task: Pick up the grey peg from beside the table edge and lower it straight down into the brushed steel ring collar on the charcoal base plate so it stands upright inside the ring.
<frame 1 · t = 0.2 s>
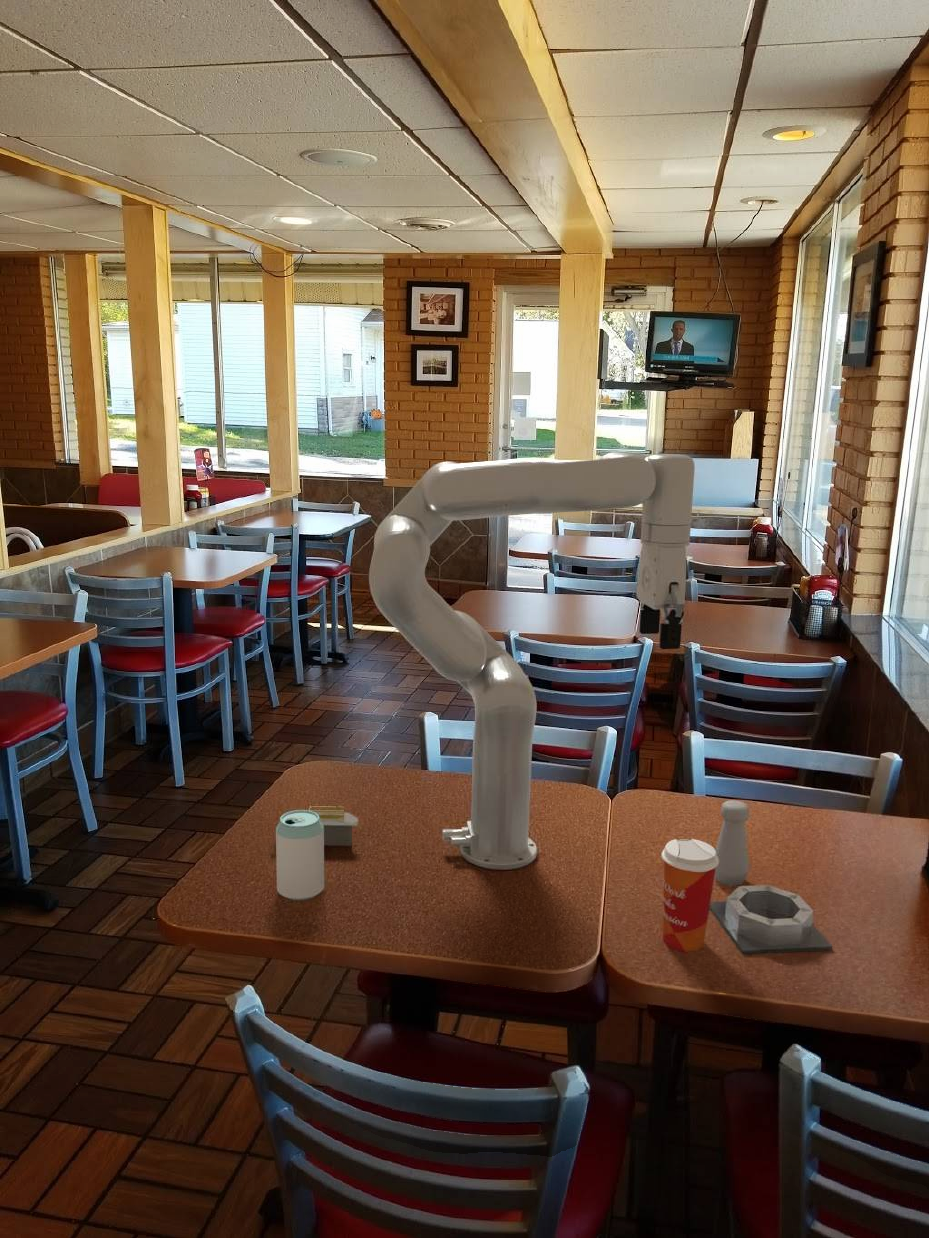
hand: (659, 640, 154), 36 cm above the table, tool pointing down, fingers open, 9 cm apart
platform: (328, 846, 162), on the table
grey peg: (728, 881, 153), on the table
paper cup: (682, 942, 135), on the table
can: (300, 892, 146), on the table
ring collar: (767, 927, 139), on the table
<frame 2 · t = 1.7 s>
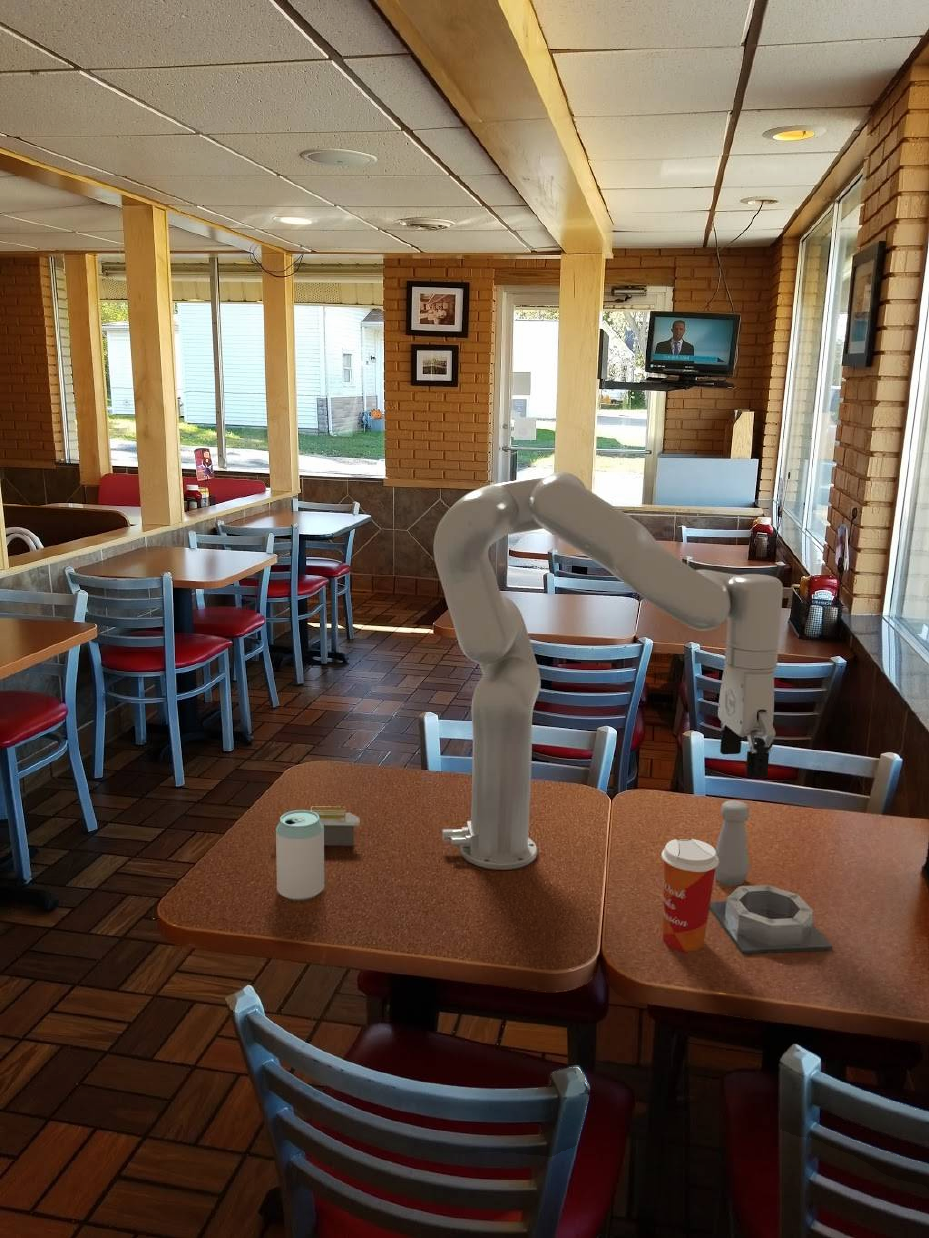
hand: (742, 764, 148), 19 cm above the table, tool pointing down, fingers open, 9 cm apart
nothing on the table moved.
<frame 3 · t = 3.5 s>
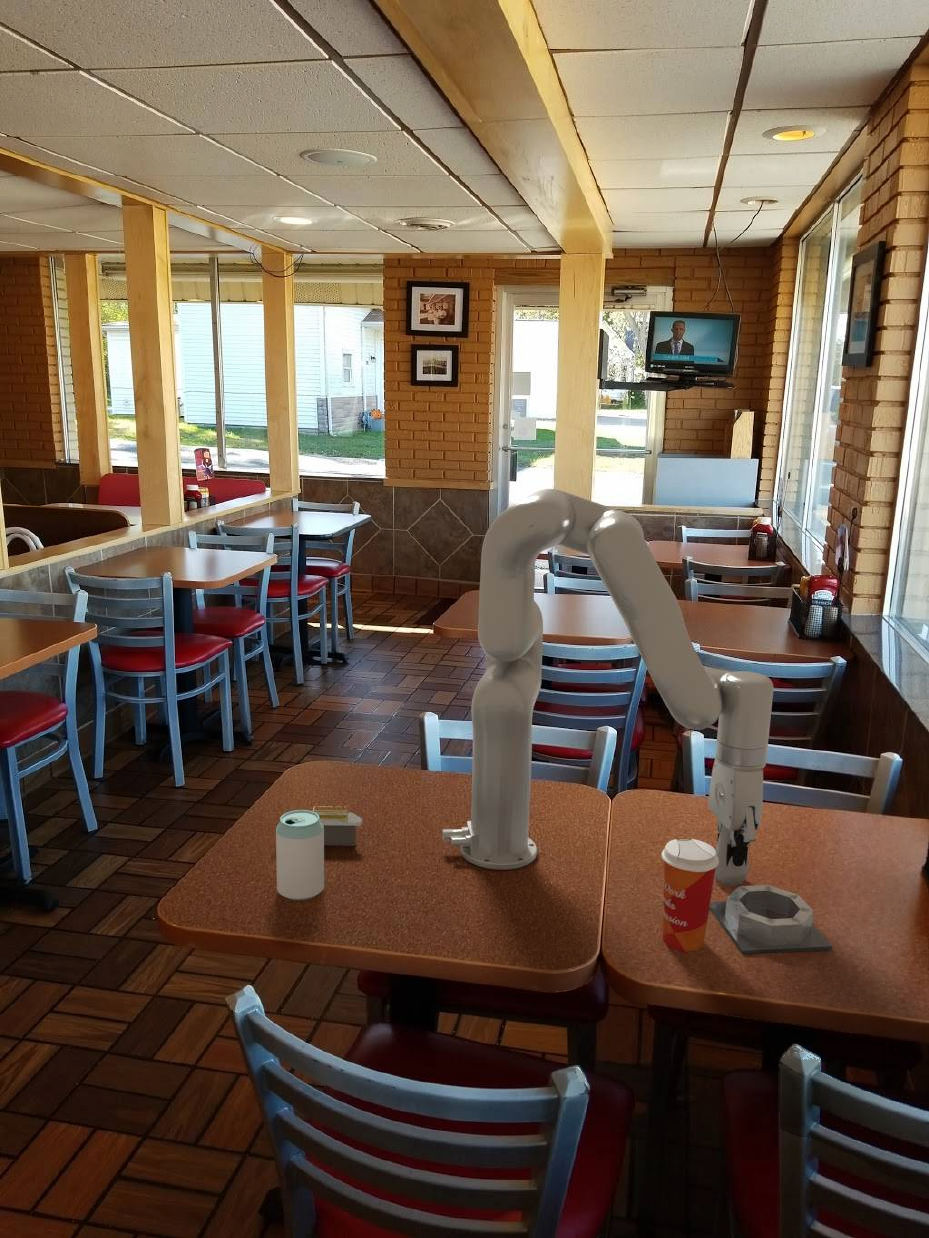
hand: (730, 861, 152), 3 cm above the table, tool pointing down, fingers closed on grey peg, 3 cm apart
grey peg: (728, 881, 153), on the table, touching gripper
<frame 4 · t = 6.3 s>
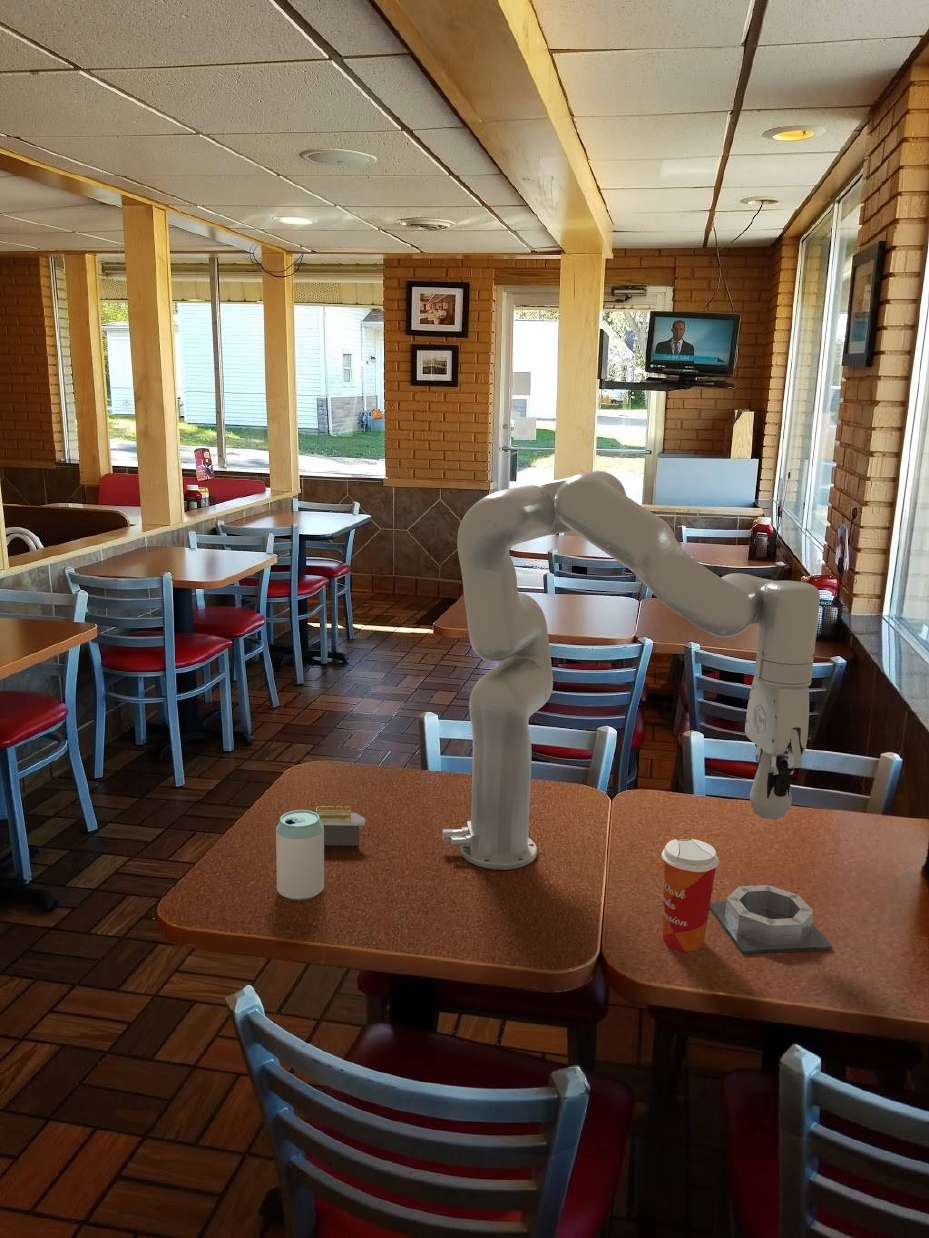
hand: (771, 792, 138), 19 cm above the table, tool pointing down, fingers closed on grey peg, 3 cm apart
grey peg: (768, 814, 139), point 16 cm above the table, touching gripper
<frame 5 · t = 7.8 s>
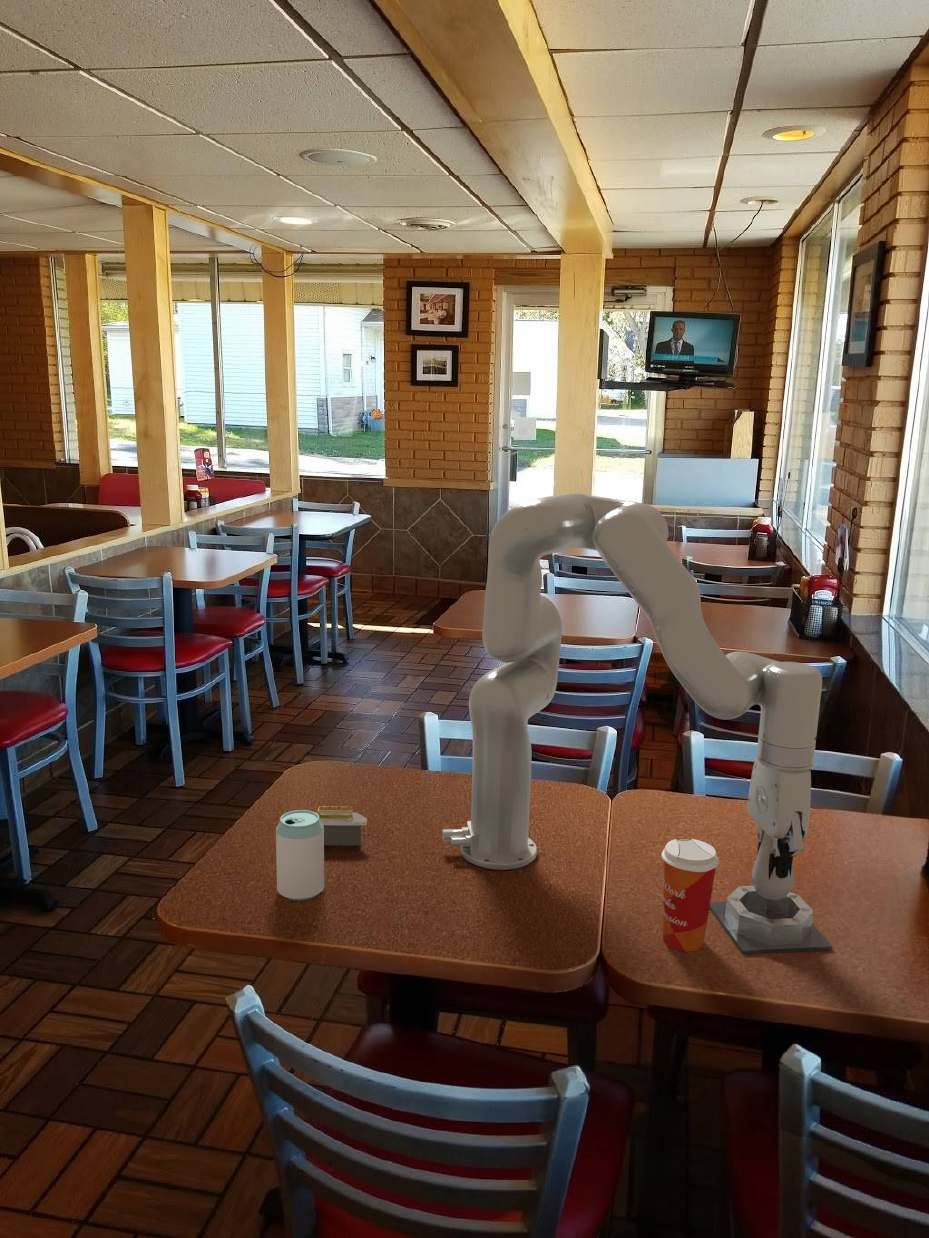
hand: (773, 872, 137), 9 cm above the table, tool pointing down, fingers closed on grey peg, 3 cm apart
grey peg: (771, 894, 138), point 5 cm above the table, touching gripper
when the fingers open (4 cm above the table, at t = 9.0 s): grey peg stays where it is, resting on ring collar.
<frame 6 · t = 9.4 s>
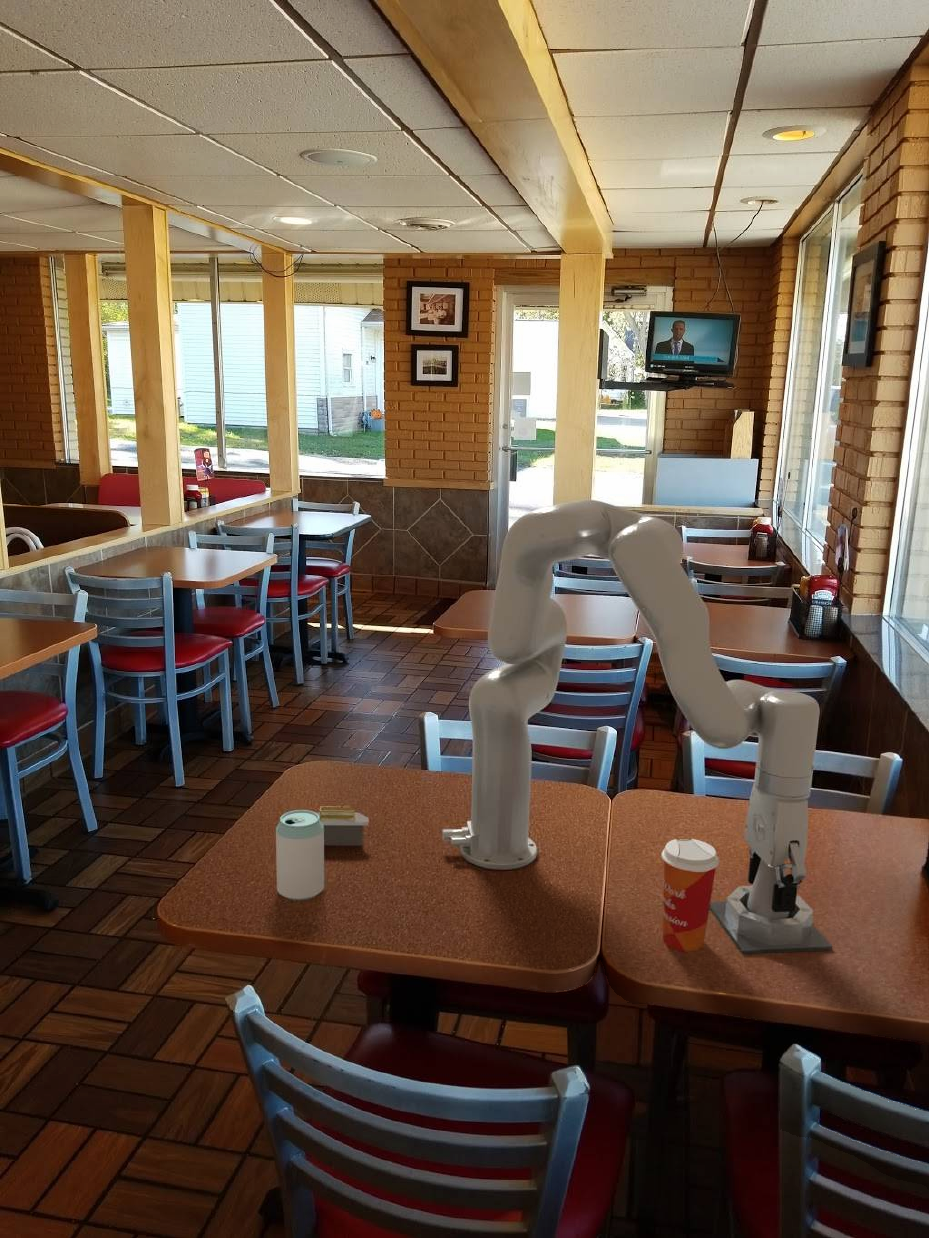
hand: (770, 895, 138), 5 cm above the table, tool pointing down, fingers open, 7 cm apart
grey peg: (766, 923, 139), resting on ring collar
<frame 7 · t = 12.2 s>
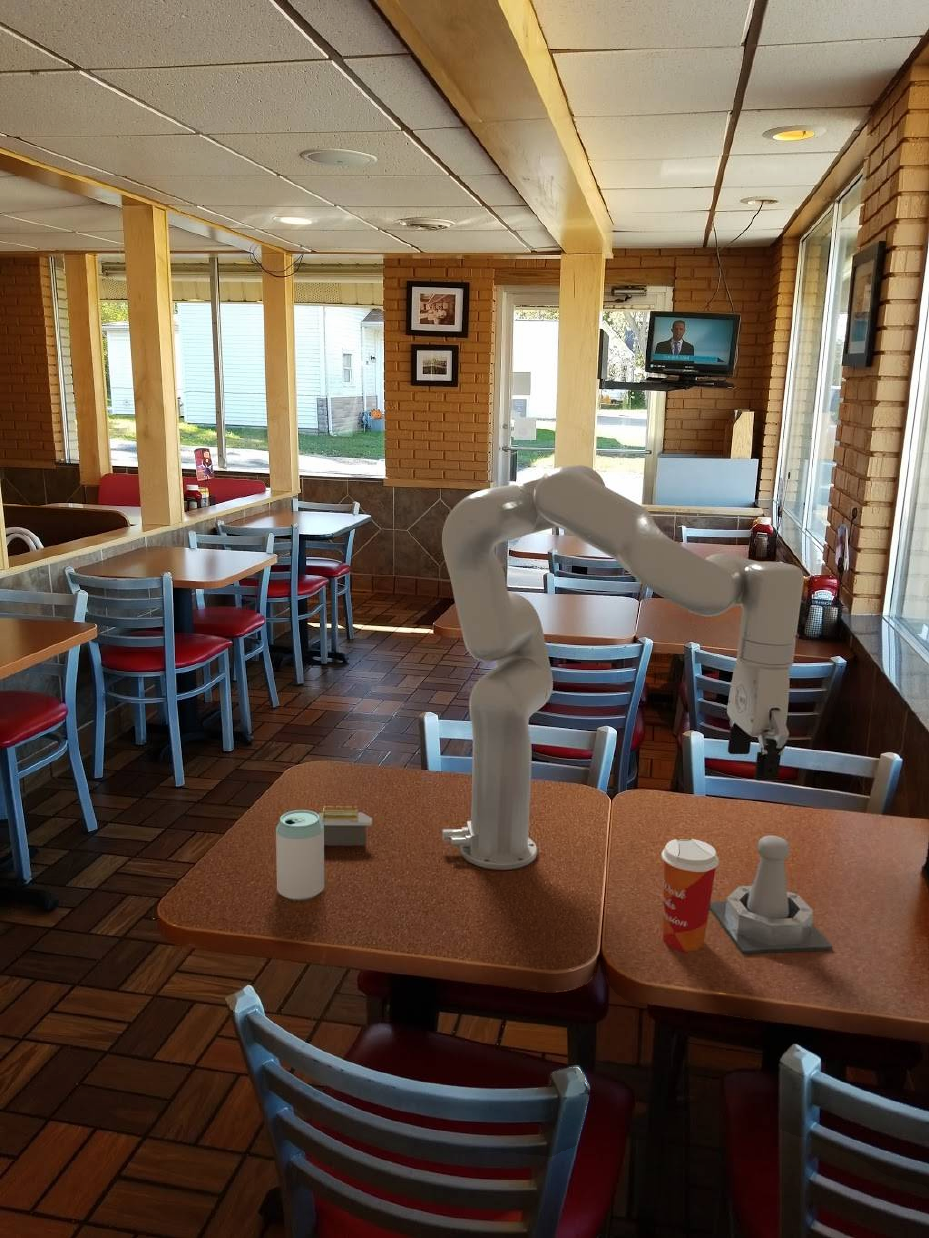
hand: (751, 766, 138), 23 cm above the table, tool pointing down, fingers open, 9 cm apart
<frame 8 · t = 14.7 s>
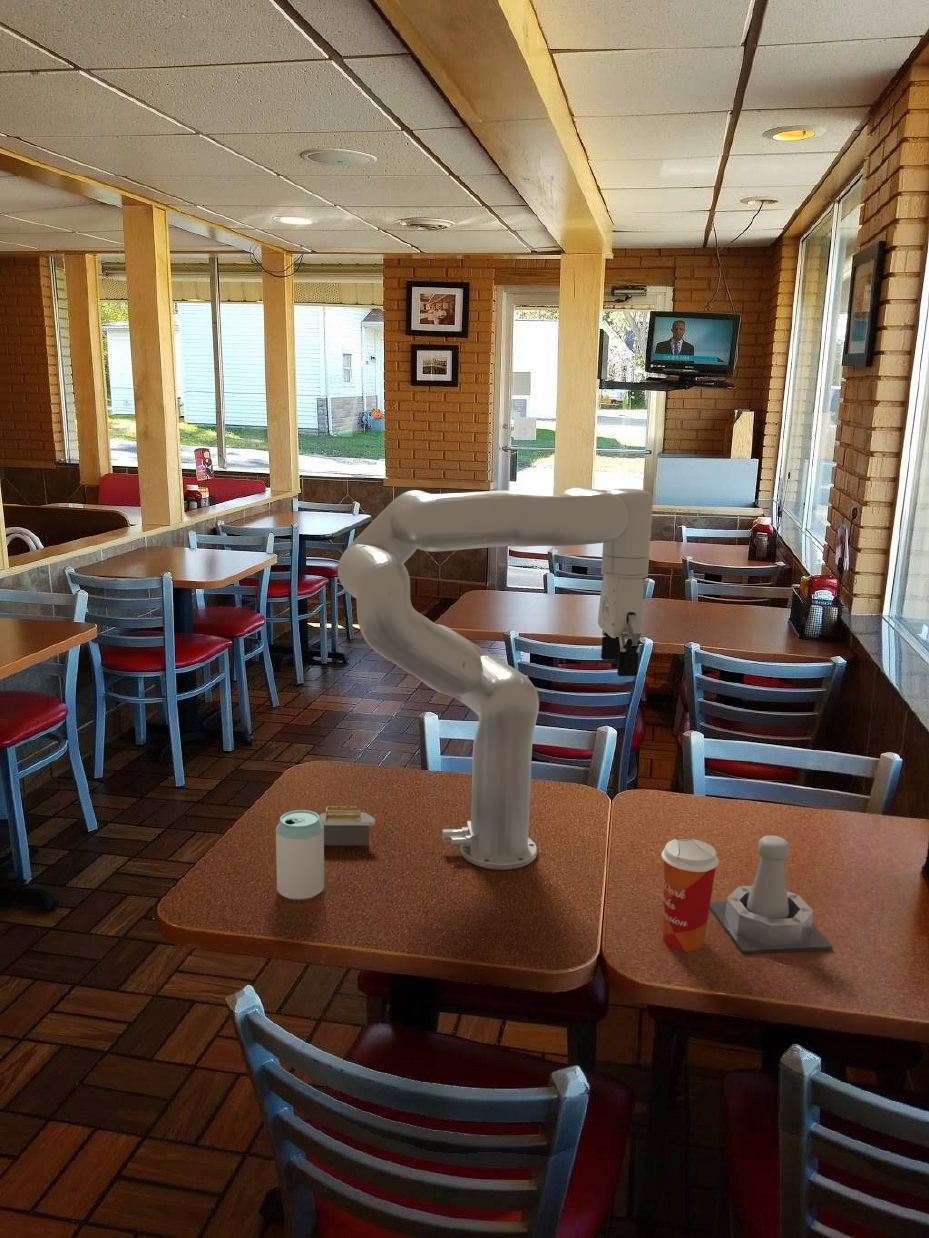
hand: (618, 667, 160), 30 cm above the table, tool pointing down, fingers open, 9 cm apart
at the end: grey peg 0.3 cm from the ring collar (horizontally); grey peg resting on ring collar; grey peg tilted 0° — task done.
